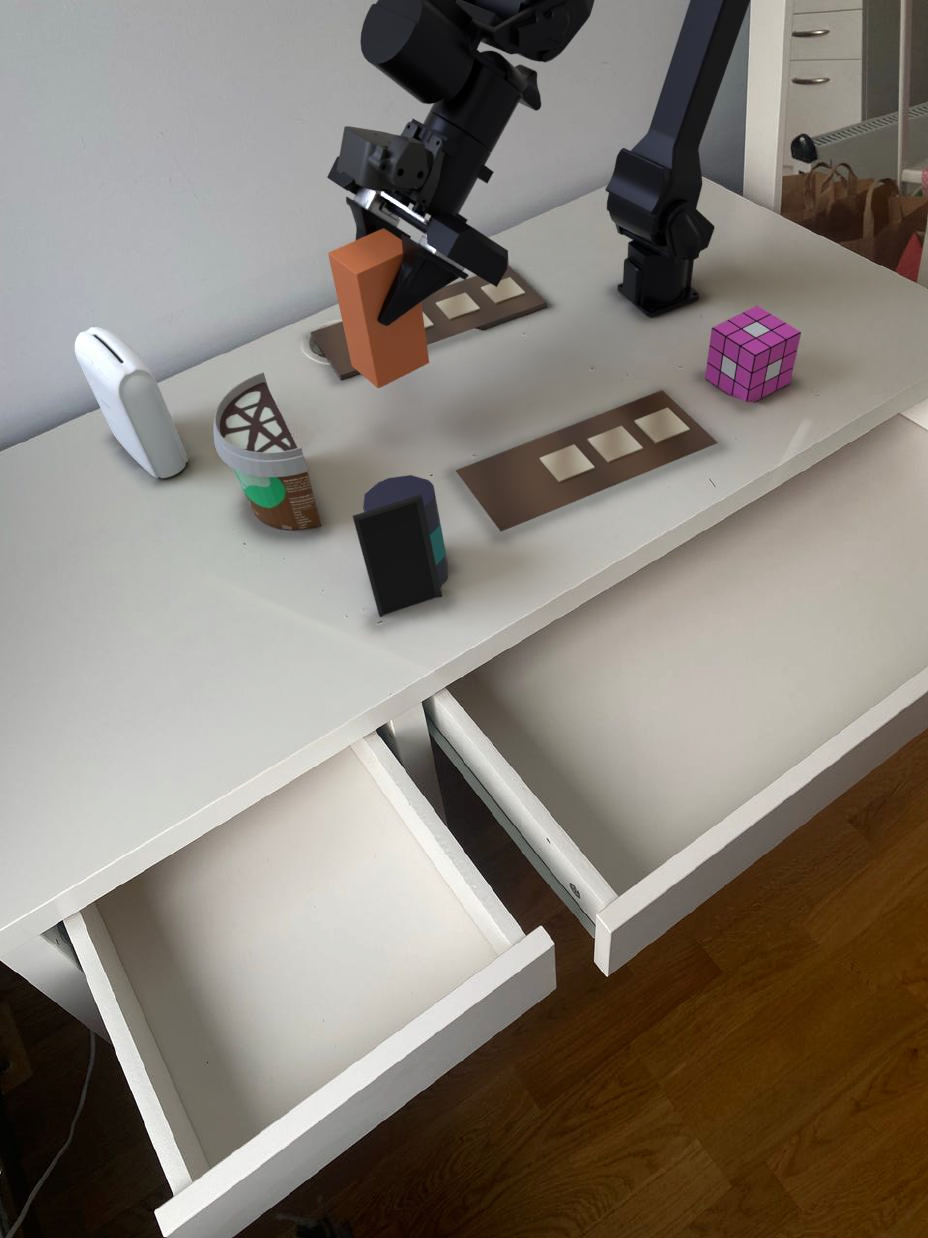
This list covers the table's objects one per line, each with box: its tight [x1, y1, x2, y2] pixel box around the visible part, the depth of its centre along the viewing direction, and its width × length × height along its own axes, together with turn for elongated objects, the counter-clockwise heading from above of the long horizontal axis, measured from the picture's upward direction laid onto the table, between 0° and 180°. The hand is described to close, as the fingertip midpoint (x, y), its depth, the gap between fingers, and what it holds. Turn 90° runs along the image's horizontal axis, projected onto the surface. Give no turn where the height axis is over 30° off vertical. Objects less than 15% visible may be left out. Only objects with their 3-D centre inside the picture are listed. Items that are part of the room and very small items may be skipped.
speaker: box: [352, 474, 449, 618], centre depth 74 cm, size 8×6×10 cm
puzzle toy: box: [704, 305, 802, 403], centre depth 88 cm, size 6×6×6 cm
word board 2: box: [455, 389, 719, 532], centre depth 85 cm, size 22×9×1 cm, turn 116°
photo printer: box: [74, 326, 189, 479], centre depth 87 cm, size 10×4×12 cm, turn 39°
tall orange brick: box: [327, 228, 430, 389], centre depth 80 cm, size 6×4×11 cm
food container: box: [213, 371, 322, 532], centre depth 81 cm, size 12×6×10 cm, turn 23°
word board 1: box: [310, 265, 548, 381], centre depth 101 cm, size 24×9×1 cm, turn 116°
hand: (366, 311), depth 79 cm, fingers closed on tall orange brick, 4 cm apart
